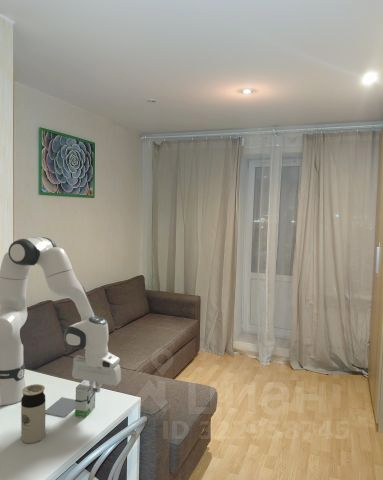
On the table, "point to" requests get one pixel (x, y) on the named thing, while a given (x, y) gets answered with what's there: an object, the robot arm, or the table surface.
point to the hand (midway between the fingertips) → (96, 391)
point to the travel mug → (33, 413)
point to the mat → (61, 407)
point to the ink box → (84, 399)
